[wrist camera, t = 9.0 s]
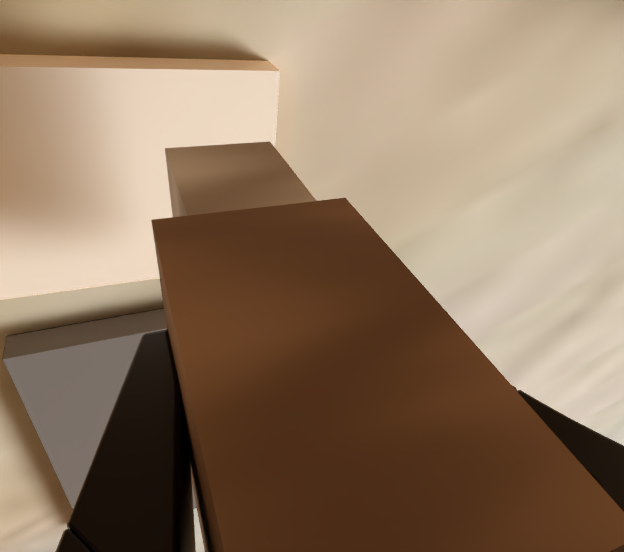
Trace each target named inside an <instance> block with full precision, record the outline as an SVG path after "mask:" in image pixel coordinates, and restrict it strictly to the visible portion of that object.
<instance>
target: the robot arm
mask: <svg viewBox="0 0 624 552" xmlns="http://www.w3.org/2000/svg"><path fill="white" fill-rule="evenodd" d="M513 388H514V389H515V390H516V391H517V389H516V388H515V387H514V386H513ZM517 392H518V393H519V394H520V396H521V397H522V398H523V399H524V400H525V401H526V402H527V403H528V405H529V406H530V407H531V408H532V409H533V410H534V411H535V412H536V414H537V415H538V416H539V417H540V418H541V419H542V420H543V421H544V423H545V424H546V425H547V426H548V427H549V428H550V429H551V430H552V432H553V433H554V434H555V435H556V436H557V437H558V438H559V439H560V441H561V442H562V443H563V444H564V445H565V446H566V447H567V449H568V450H569V451H570V452H571V453H572V454H573V455H574V456H575V458H576V459H577V460H578V461H579V462H580V463H581V464H582V465H583V467H584V468H585V469H586V470H587V471H588V472H589V473H590V474H591V476H592V477H593V478H594V479H595V480H596V481H597V482H598V483H599V485H600V486H601V487H602V488H603V489H604V490H605V491H606V492H607V494H608V495H609V496H610V497H611V498H612V499H613V500H614V502H615V503H616V504H617V505H618V506H619V507H620V508H621V509H622V511H623V512H624V446H623V445H621V444H619V443H617V442H615V441H613V440H611V439H609V438H607V437H605V436H603V435H601V434H599V433H597V432H595V431H593V430H591V429H590V428H588V427H586V426H584V425H582V424H580V423H578V422H576V421H574V420H572V419H570V418H568V417H567V416H565V415H563V414H561V413H559V412H558V411H556V410H554V409H552V408H551V407H549V406H547V405H545V404H543V403H542V402H540V401H538V400H536V399H535V398H533V397H531V396H530V395H528V394H526V393H524V392H523V391H521V390H518V391H517ZM67 527H68V529H66V530H65V531H64V532H63V534H62V537H61V539H60V542H59V544H58V547H57V549H56V552H196V551H195V532H194V514H193V495H192V477H191V462H190V454H189V447H188V440H187V433H186V425H185V418H184V411H183V404H182V396H181V389H180V384H179V379H178V375H177V370H176V365H175V361H174V356H173V352H172V347H171V342H170V338H169V333H168V330H167V329H161V330H156V331H151V332H146V333H144V334H143V335H142V337H141V339H140V342H139V344H138V347H137V349H136V352H135V354H134V357H133V359H132V362H131V364H130V367H129V369H128V372H127V375H126V377H125V380H124V382H123V385H122V387H121V390H120V392H119V395H118V397H117V400H116V402H115V405H114V407H113V410H112V412H111V415H110V417H109V420H108V422H107V425H106V427H105V430H104V432H103V435H102V437H101V440H100V442H99V445H98V447H97V450H96V452H95V455H94V457H93V460H92V462H91V465H90V467H89V470H88V472H87V475H86V477H85V480H84V482H83V485H82V487H81V490H80V492H79V495H78V498H77V500H76V503H75V505H74V508H73V510H72V513H71V515H70V518H69V520H68V523H67Z"/></svg>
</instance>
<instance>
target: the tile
mask: <svg viewBox="0 0 624 552" xmlns="http://www.w3.org/2000/svg"><path fill="white" fill-rule="evenodd" d="M279 78H280V71H279V70H278V69H277V68H276V67H275V66H274V65H273V64H271V63H270V62H269V61H261V60H221V59H180V58H140V57H99V56H59V55H19V54H0V300H3V299H11V298H18V297H25V296H33V295H40V294H47V293H55V292H62V291H69V290H76V289H84V288H91V287H98V286H106V285H113V284H120V283H128V282H135V281H142V280H149V279H157V278H160V276H159V269H158V263H157V256H156V249H155V242H154V235H153V228H152V222H151V220H153V219H162V218H171V217H173V216H172V207H171V198H170V190H169V181H168V172H167V163H166V155H165V148H176V147H192V146H207V145H222V144H238V143H253V142H269V141H270V142H271V144H272V145H273V146H274V147H275V141H276V125H277V110H278V94H279Z"/></svg>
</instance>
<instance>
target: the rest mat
mask: <svg viewBox="0 0 624 552" xmlns="http://www.w3.org/2000/svg"><path fill="white" fill-rule="evenodd" d="M161 329H167V324H166V317H165V310H164V309H159V310H153V311H147V312H142V313H136V314H130V315H125V316H119V317H114V318H108V319H102V320H97V321H91V322H85V323H80V324H74V325H68V326H63V327H57V328H51V329H46V330H40V331H34V332H29V333H23V334H17V335H12V336H7V337H6V343H5V349H4V355H3V361H4V363H5V365H6V368H7V370H8V372H9V374H10V376H11V378H12V380H13V383H14V385H15V387H16V389H17V391H18V393H19V395H20V398H21V400H22V402H23V404H24V406H25V408H26V410H27V413H28V415H29V417H30V419H31V421H32V423H33V425H34V428H35V430H36V432H37V434H38V436H39V438H40V440H41V443H42V445H43V447H44V449H45V451H46V453H47V455H48V458H49V460H50V462H51V464H52V466H53V468H54V470H55V473H56V475H57V477H58V479H59V481H60V483H61V485H62V488H63V490H64V492H65V494H66V496H67V498H68V501H69V503H70V505H71V507H72V509H73V508H74V505H75V503H76V500H77V498H78V495H79V492H80V490H81V487H82V485H83V482H84V480H85V477H86V475H87V472H88V470H89V467H90V465H91V462H92V460H93V457H94V455H95V452H96V450H97V447H98V445H99V442H100V440H101V437H102V435H103V432H104V430H105V427H106V425H107V422H108V420H109V417H110V415H111V412H112V410H113V407H114V405H115V402H116V400H117V397H118V395H119V392H120V390H121V387H122V385H123V382H124V380H125V377H126V375H127V372H128V369H129V367H130V364H131V362H132V359H133V357H134V354H135V352H136V349H137V347H138V344H139V342H140V339H141V337H142V335H143V334H144V333H146V332H151V331H156V330H161ZM192 495H193V509H194V508H197V506H196V501H195V496H194V491H193V485H192Z"/></svg>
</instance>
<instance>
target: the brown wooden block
mask: <svg viewBox="0 0 624 552" xmlns="http://www.w3.org/2000/svg"><path fill="white" fill-rule="evenodd" d="M165 155H166V163H167V172H168V181H169V190H170V198H171V207H172V216H173V217H171V218H162V219H153V220H151V222H152V228H153V235H154V242H155V249H156V256H157V263H158V269H159V276H160V283H161V290H162V297H163V304H164V310H165V317H166V324H167V330H168V333H169V338H170V342H171V347H172V352H173V356H174V361H175V365H176V370H177V375H178V379H179V384H180V389H181V396H182V404H183V411H184V418H185V425H186V433H187V440H188V447H189V454H190V462H191V477H192V485H193V491H194V496H195V501H196V506H197V512H198V517H199V522H200V527H201V532H202V538H203V543H204V548H205V552H624V512H623V511H622V509H621V508H620V507H619V506H618V505H617V504H616V503H615V502H614V500H613V499H612V498H611V497H610V496H609V495H608V494H607V492H606V491H605V490H604V489H603V488H602V487H601V486H600V485H599V483H598V482H597V481H596V480H595V479H594V478H593V477H592V476H591V474H590V473H589V472H588V471H587V470H586V469H585V468H584V467H583V465H582V464H581V463H580V462H579V461H578V460H577V459H576V458H575V456H574V455H573V454H572V453H571V452H570V451H569V450H568V449H567V447H566V446H565V445H564V444H563V443H562V442H561V441H560V439H559V438H558V437H557V436H556V435H555V434H554V433H553V432H552V430H551V429H550V428H549V427H548V426H547V425H546V424H545V423H544V421H543V420H542V419H541V418H540V417H539V416H538V415H537V414H536V412H535V411H534V410H533V409H532V408H531V407H530V406H529V405H528V403H527V402H526V401H525V400H524V399H523V398H522V397H521V396H520V394H519V393H518V392H517V391H516V390H515V389H514V388H513V386H512V385H511V384H510V383H509V382H508V381H507V380H506V379H505V377H504V376H503V375H502V374H501V373H500V372H499V371H498V370H497V368H496V367H495V366H494V365H493V364H492V363H491V362H490V361H489V359H488V358H487V357H486V356H485V355H484V354H483V353H482V352H481V350H480V349H479V348H478V347H477V346H476V345H475V344H474V343H473V341H472V340H471V339H470V338H469V337H468V336H467V335H466V333H465V332H464V331H463V330H462V329H461V328H460V327H459V326H458V324H457V323H456V322H455V321H454V320H453V319H452V318H451V317H450V315H449V314H448V313H447V312H446V311H445V310H444V309H443V308H442V306H441V305H440V304H439V303H438V302H437V301H436V300H435V299H434V297H433V296H432V295H431V294H430V293H429V292H428V291H427V290H426V288H425V287H424V286H423V285H422V284H421V283H420V282H419V280H418V279H417V278H416V277H415V276H414V275H413V274H412V273H411V271H410V270H409V269H408V268H407V267H406V266H405V265H404V264H403V262H402V261H401V260H400V259H399V258H398V257H397V256H396V255H395V253H394V252H393V251H392V250H391V249H390V248H389V247H388V246H387V244H386V243H385V242H384V241H383V240H382V239H381V238H380V237H379V235H378V234H377V233H376V232H375V231H374V230H373V229H372V227H371V226H370V225H369V224H368V223H367V222H366V221H365V220H364V218H363V217H362V216H361V215H360V214H359V213H358V212H357V211H356V209H355V208H354V207H353V206H352V205H351V204H350V203H349V202H348V200H347V199H346V198H339V199H330V200H322V201H316V200H315V198H314V197H313V196H312V195H311V193H310V192H309V191H308V190H307V188H306V187H305V186H304V184H303V183H302V182H301V181H300V179H299V178H298V177H297V175H296V174H295V173H294V172H293V170H292V169H291V168H290V167H289V165H288V164H287V163H286V161H285V160H284V159H283V158H282V156H281V155H280V154H279V152H278V151H277V150H276V149H275V147H274V146H273V145H272V144H271V142H270V141H269V142H253V143H238V144H222V145H207V146H192V147H176V148H165Z"/></svg>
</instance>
